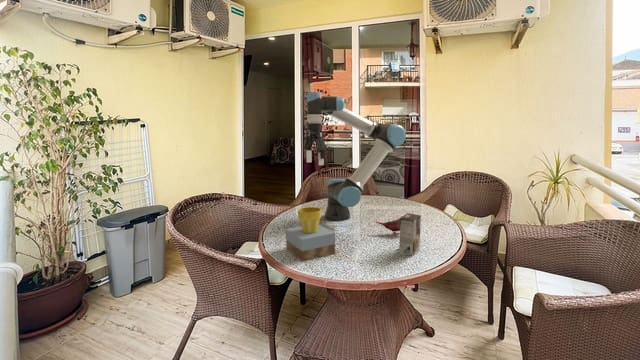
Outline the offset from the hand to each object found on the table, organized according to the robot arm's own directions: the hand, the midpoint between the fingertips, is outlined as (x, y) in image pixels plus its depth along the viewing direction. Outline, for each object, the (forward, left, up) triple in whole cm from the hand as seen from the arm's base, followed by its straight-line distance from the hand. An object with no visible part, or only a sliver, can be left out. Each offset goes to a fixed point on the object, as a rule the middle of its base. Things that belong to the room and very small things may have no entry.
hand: (315, 163), depth 182 cm
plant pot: (+19, +30, -26) cm, 43 cm away
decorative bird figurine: (-28, +30, -35) cm, 54 cm away
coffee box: (-19, +52, -35) cm, 65 cm away
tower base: (+19, +30, -35) cm, 50 cm away
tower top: (+19, +30, -30) cm, 46 cm away
